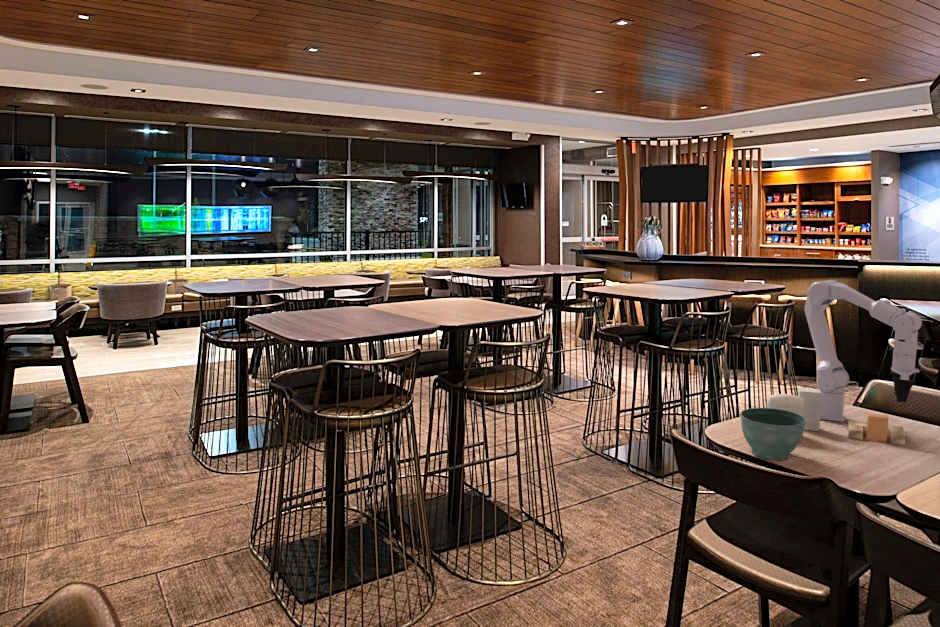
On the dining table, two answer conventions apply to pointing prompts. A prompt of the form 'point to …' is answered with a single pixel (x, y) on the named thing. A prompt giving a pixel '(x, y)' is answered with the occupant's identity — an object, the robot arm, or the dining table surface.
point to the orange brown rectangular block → (877, 427)
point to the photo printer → (786, 403)
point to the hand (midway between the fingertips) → (900, 398)
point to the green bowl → (772, 431)
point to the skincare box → (811, 408)
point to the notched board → (859, 428)
